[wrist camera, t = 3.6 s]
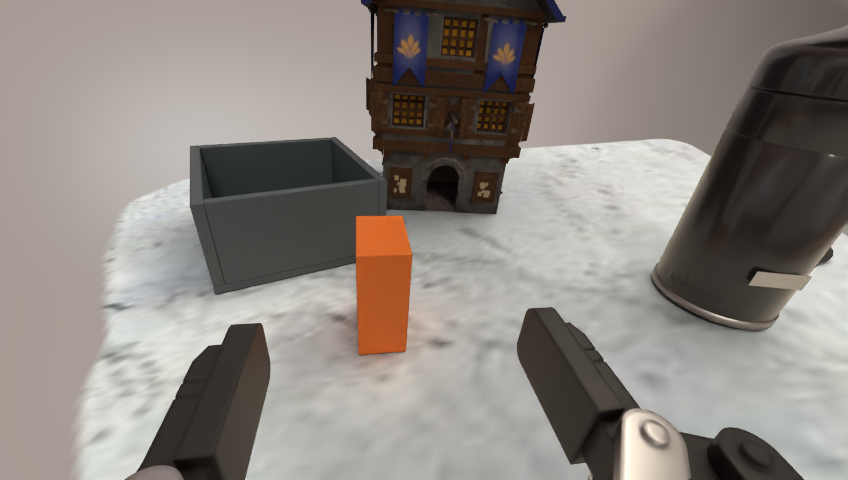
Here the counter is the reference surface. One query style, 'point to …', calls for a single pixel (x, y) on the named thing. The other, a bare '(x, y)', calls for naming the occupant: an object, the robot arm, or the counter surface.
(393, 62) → the miniature building
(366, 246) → the block
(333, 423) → the counter surface
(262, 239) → the bin
